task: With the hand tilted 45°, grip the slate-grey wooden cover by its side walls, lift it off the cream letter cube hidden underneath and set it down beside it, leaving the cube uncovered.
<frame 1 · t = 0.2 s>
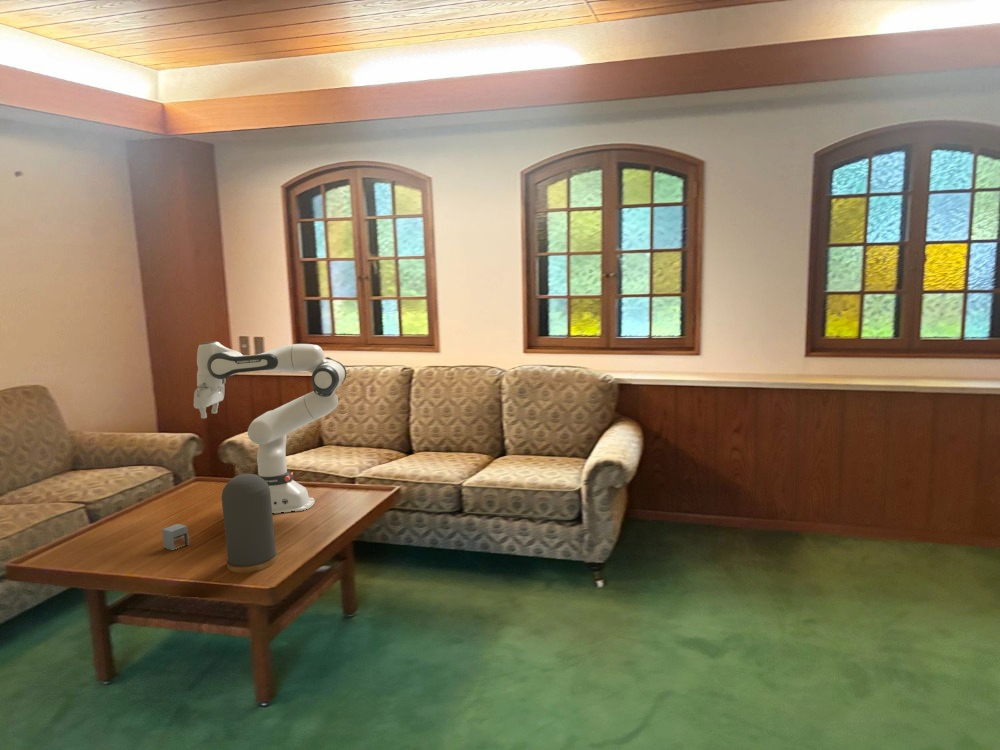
hand: (209, 415, 280), 39 cm above the table, tool pointing down, fingers open, 8 cm apart
slate cover: (176, 546, 246), on the table
letter cube: (176, 541, 246), in the slate cover
decorative piece: (252, 562, 230), on the table
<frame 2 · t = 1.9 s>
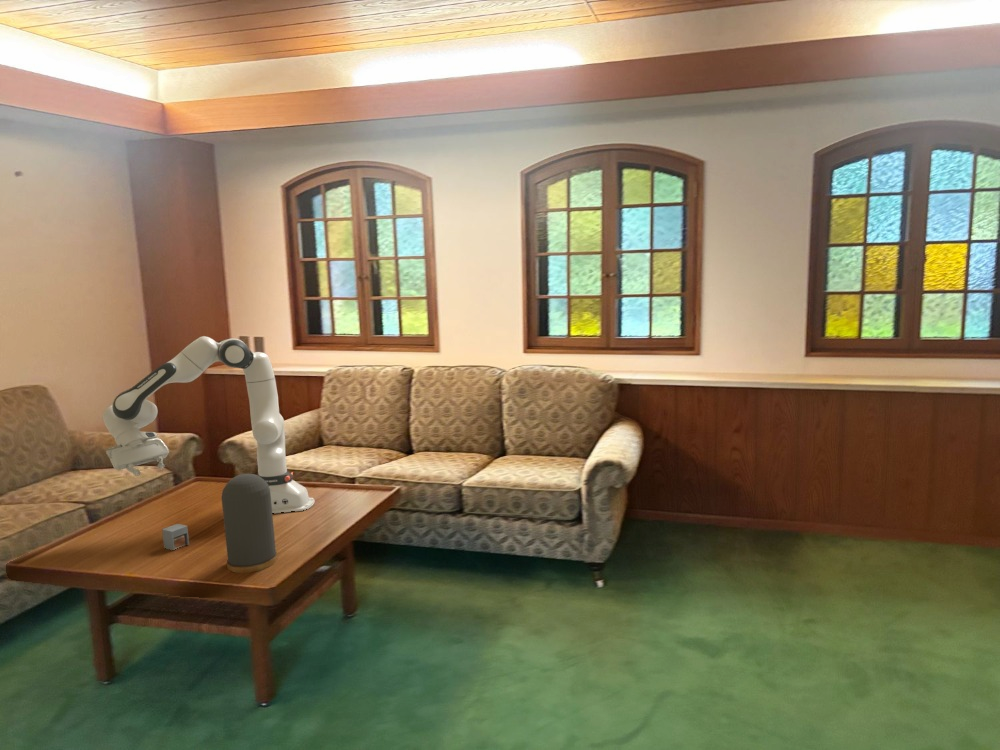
hand: (150, 471, 254), 25 cm above the table, tool tilted 45°, fingers open, 8 cm apart
nothing on the table moved.
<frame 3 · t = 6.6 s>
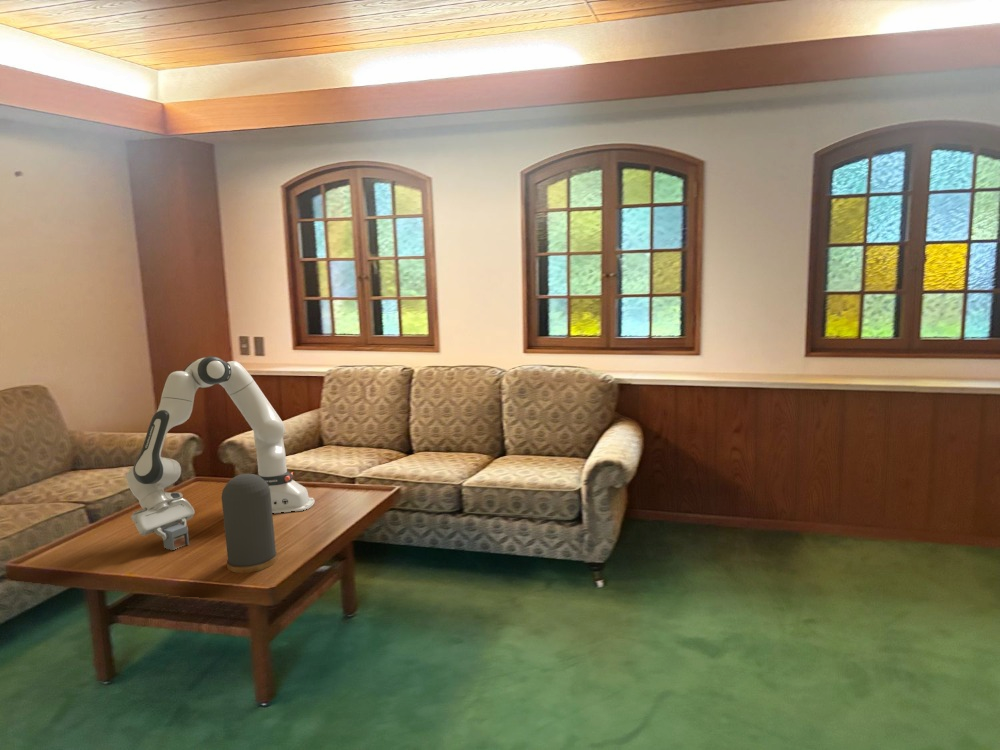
hand: (176, 534, 245), 4 cm above the table, tool tilted 45°, fingers closed on slate cover, 6 cm apart
slate cover: (176, 546, 246), on the table, touching gripper
everything else where it was.
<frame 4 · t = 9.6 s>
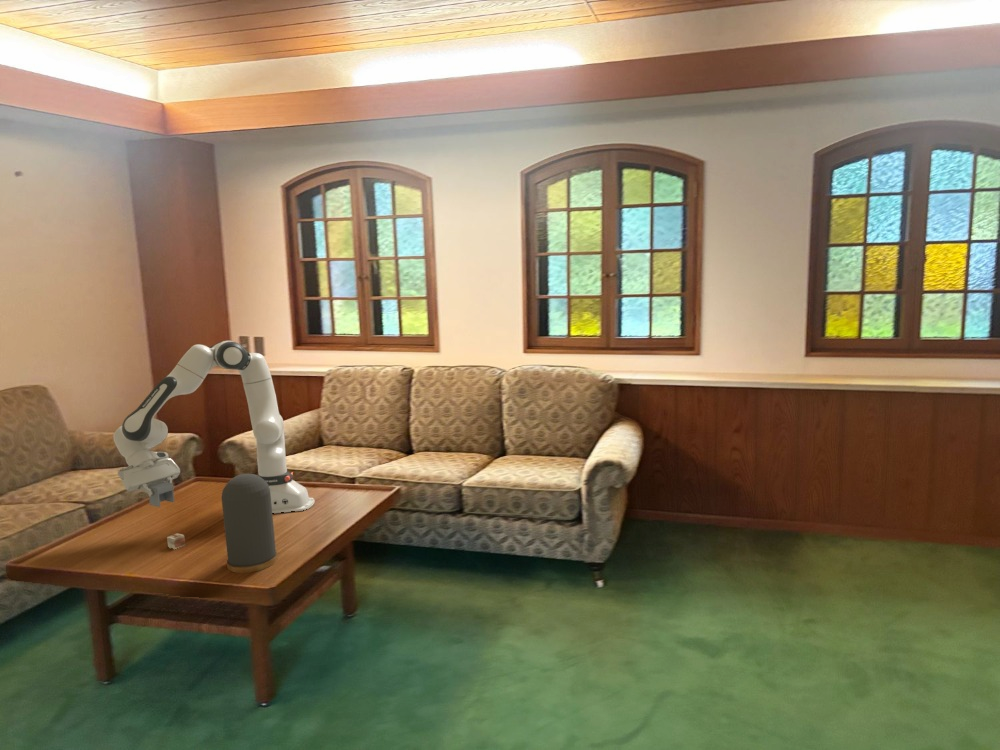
hand: (162, 492, 253), 17 cm above the table, tool tilted 45°, fingers closed on slate cover, 6 cm apart
slate cover: (162, 503, 253), point 13 cm above the table, touching gripper
everything else where it was.
when the fingers open (6 cm above the table, at t = 12.9 s): slate cover drops 1 cm, on the table.
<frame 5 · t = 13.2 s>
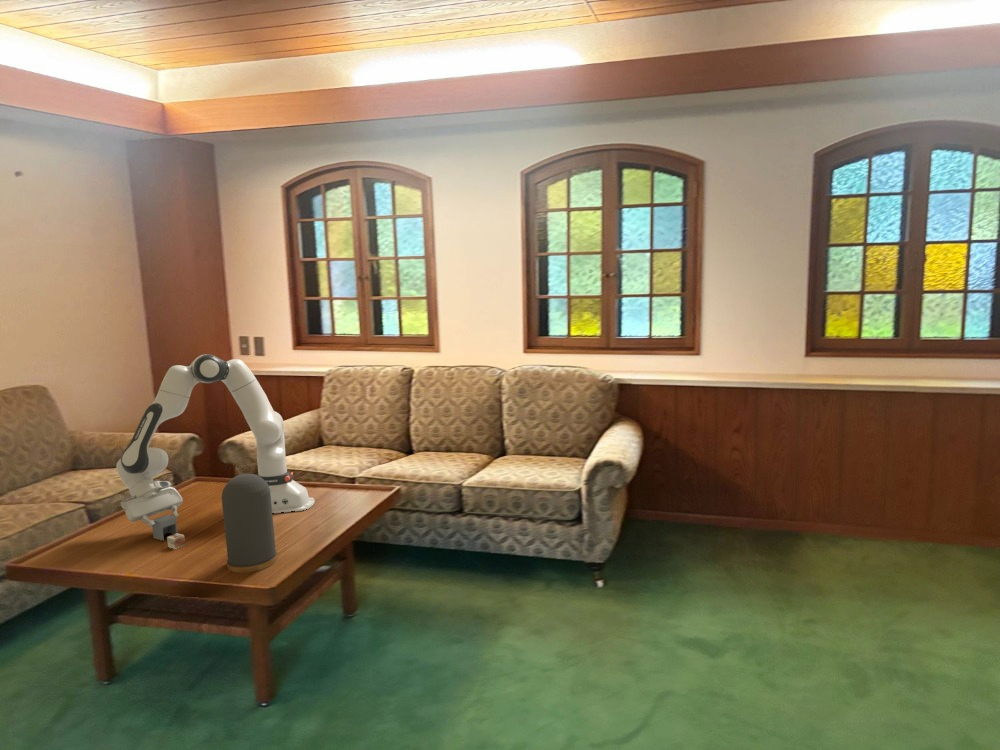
hand: (164, 521, 255), 6 cm above the table, tool tilted 45°, fingers open, 8 cm apart
slate cover: (165, 536, 256), on the table
everything else where it was.
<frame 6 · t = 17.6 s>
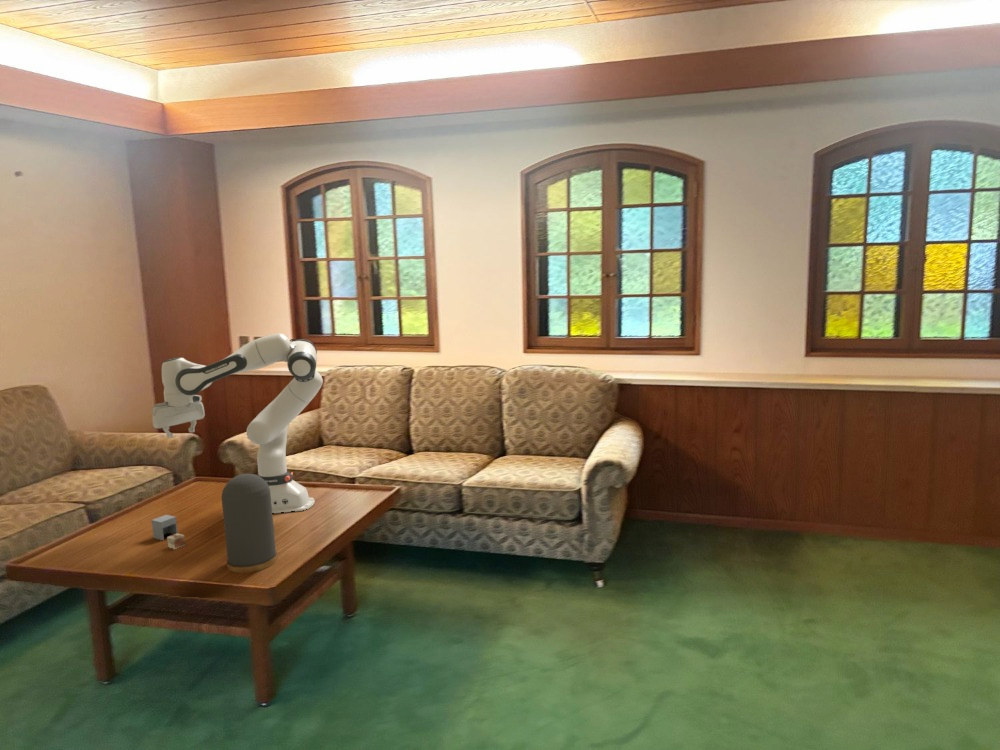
hand: (181, 434, 269), 34 cm above the table, tool pointing down, fingers open, 8 cm apart
nothing on the table moved.
at the end: slate cover inside the target area (0.1 cm from its centre), on the table; slate cover tilted 0°; letter cube moved 0.1 cm from its start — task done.
